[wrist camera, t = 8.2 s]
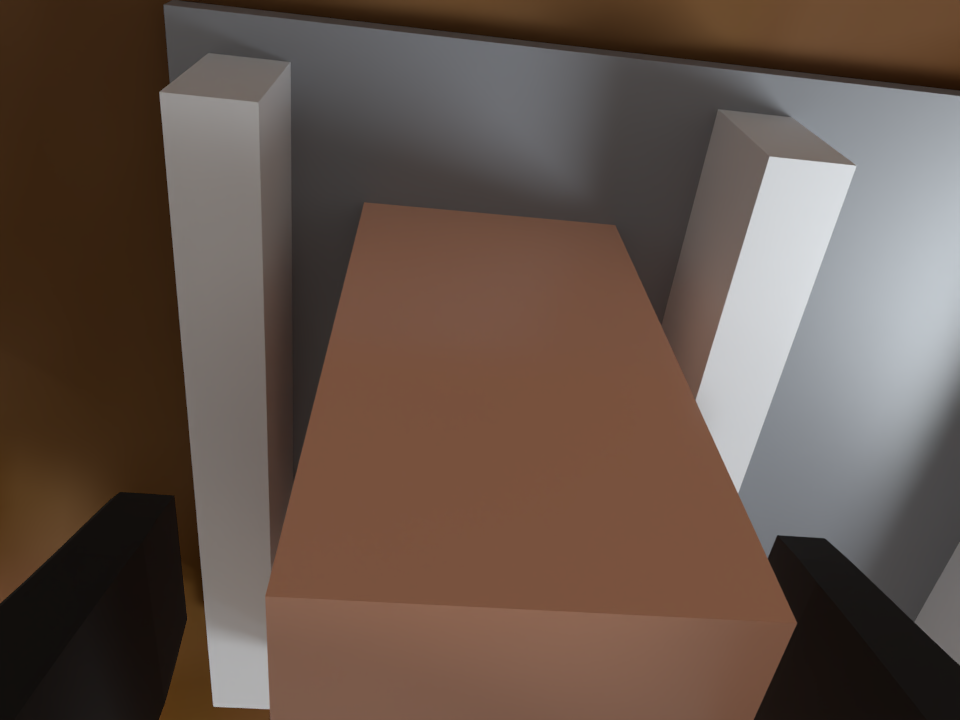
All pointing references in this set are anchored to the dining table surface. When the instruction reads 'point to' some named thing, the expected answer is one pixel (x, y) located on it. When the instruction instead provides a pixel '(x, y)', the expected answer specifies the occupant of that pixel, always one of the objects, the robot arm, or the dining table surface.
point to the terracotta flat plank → (511, 496)
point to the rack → (582, 198)
